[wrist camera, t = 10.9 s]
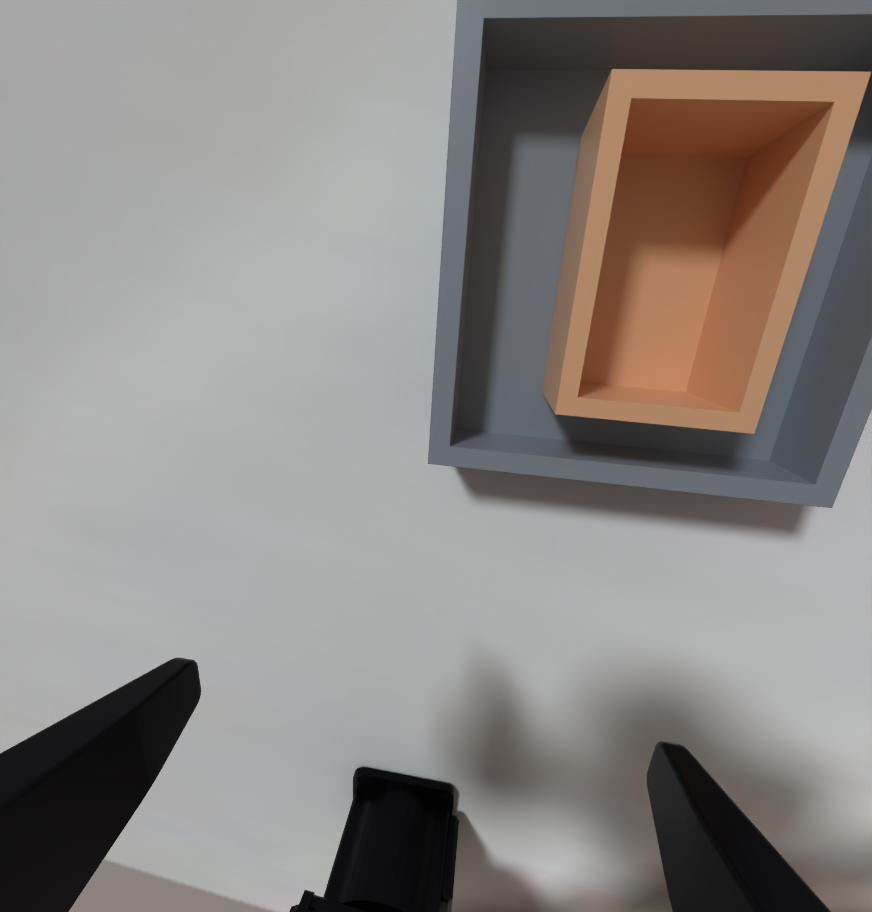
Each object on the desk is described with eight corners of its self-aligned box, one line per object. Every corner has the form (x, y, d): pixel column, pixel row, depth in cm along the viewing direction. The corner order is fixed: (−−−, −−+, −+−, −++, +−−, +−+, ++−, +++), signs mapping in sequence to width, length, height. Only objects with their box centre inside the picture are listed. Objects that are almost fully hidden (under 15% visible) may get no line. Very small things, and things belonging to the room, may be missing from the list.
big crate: (439, 439, 20) (427, 463, 17) (467, 54, 15) (458, -18, 12) (772, 474, 18) (831, 507, 15) (915, 54, 14) (1046, -30, 10)
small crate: (541, 391, 18) (555, 414, 14) (580, 139, 15) (612, 68, 11) (691, 405, 17) (754, 433, 13) (761, 144, 14) (871, 72, 10)
